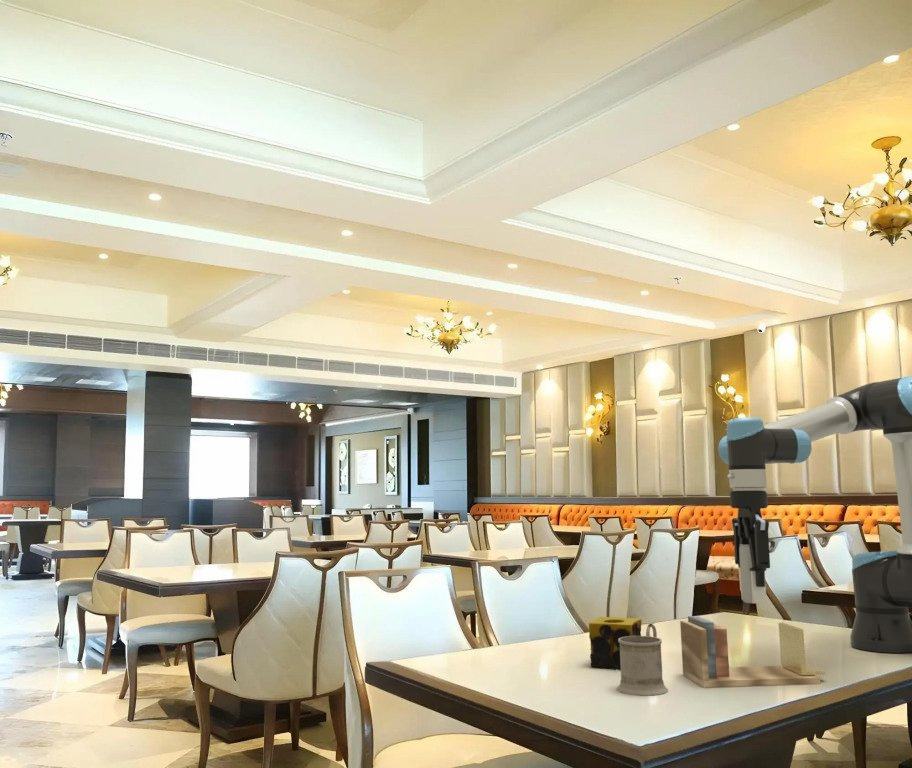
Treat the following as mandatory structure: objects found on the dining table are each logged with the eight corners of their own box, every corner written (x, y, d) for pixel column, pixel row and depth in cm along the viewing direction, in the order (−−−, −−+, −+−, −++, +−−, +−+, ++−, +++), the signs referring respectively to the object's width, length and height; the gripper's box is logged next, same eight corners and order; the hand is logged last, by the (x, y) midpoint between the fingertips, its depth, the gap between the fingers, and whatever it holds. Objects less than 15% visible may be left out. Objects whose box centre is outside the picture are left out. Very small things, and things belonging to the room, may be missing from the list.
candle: (645, 662, 189) (643, 618, 190) (635, 671, 180) (633, 624, 181) (601, 659, 193) (599, 616, 194) (589, 668, 184) (588, 622, 185)
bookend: (804, 665, 175) (801, 622, 177) (825, 674, 167) (822, 628, 168) (781, 666, 175) (778, 622, 176) (801, 675, 166) (798, 629, 167)
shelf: (792, 671, 177) (788, 612, 178) (820, 683, 165) (815, 621, 166) (683, 674, 175) (679, 615, 177) (703, 687, 163) (699, 624, 165)
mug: (658, 698, 156) (655, 632, 157) (609, 692, 161) (606, 629, 163) (681, 682, 168) (678, 622, 170) (635, 677, 173) (632, 619, 175)
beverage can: (754, 604, 170) (751, 545, 171) (737, 601, 174) (734, 544, 176) (771, 602, 172) (768, 544, 174) (753, 600, 176) (750, 543, 178)
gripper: (715, 490, 185) (720, 596, 182) (748, 489, 167) (754, 606, 164) (748, 490, 185) (753, 596, 182) (784, 489, 168) (790, 606, 164)
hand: (753, 601), depth 173 cm, fingers closed on beverage can, 5 cm apart
